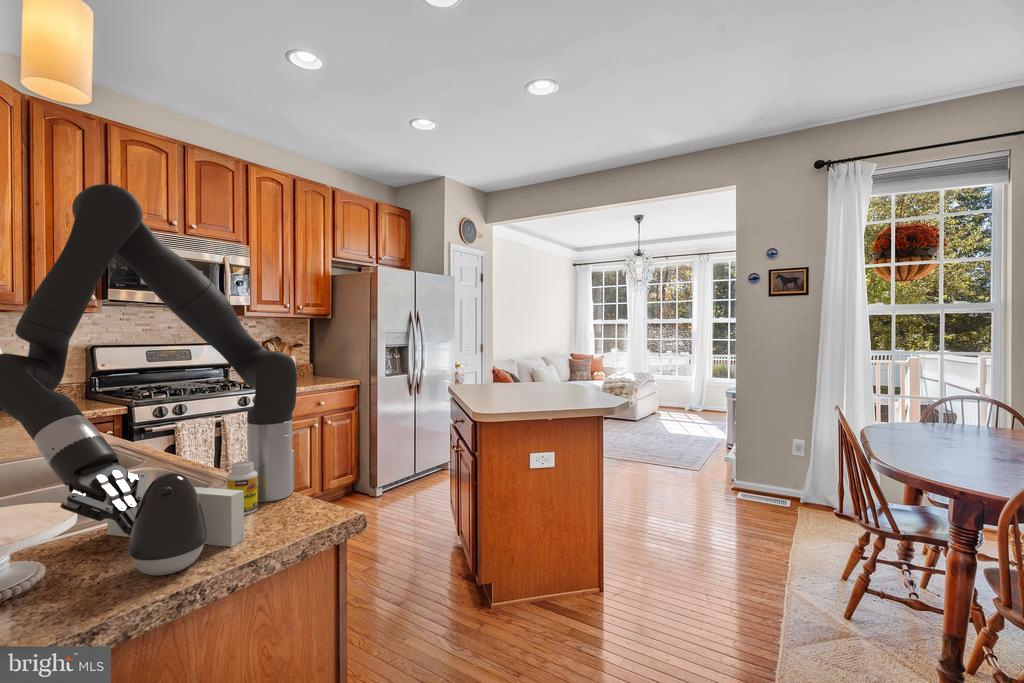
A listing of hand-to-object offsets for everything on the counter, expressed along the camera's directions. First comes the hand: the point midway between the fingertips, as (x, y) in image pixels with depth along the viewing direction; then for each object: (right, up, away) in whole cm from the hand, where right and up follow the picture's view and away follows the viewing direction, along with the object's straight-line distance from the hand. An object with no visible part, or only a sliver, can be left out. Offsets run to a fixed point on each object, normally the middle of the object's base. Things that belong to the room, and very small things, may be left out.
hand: (138, 531), depth 78 cm
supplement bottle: (+3, -6, +24) cm, 25 cm away
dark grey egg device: (+5, -6, 0) cm, 8 cm away
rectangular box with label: (-2, -6, +11) cm, 13 cm away
